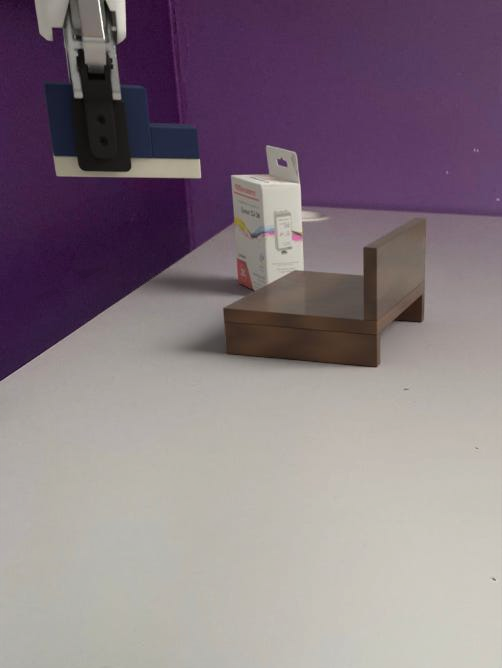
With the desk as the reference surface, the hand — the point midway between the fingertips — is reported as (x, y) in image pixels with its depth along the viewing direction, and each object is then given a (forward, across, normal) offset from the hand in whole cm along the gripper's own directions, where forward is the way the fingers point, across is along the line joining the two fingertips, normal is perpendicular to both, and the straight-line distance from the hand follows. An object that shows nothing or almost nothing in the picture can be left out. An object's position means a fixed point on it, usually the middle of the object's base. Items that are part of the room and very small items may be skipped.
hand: (103, 163), depth 68 cm
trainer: (+1, 0, +2) cm, 2 cm away
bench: (+17, -22, +20) cm, 35 cm away
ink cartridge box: (+17, -45, +19) cm, 52 cm away
